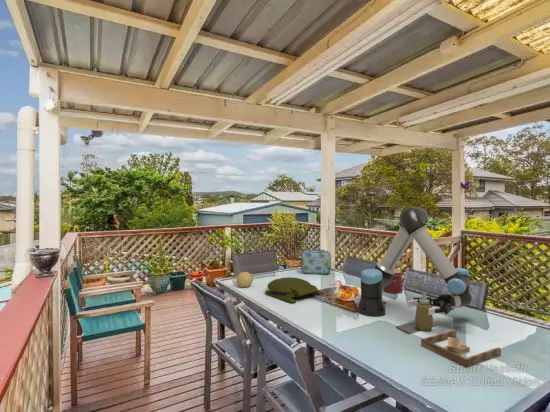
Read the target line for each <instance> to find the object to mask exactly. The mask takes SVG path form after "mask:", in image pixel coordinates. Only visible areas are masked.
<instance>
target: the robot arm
mask: <svg viewBox="0 0 550 412" xmlns="http://www.w3.org/2000/svg"><path fill="white" fill-rule="evenodd" d="M428 221H429V215H428V213H427V211H426V210H425V209H423V208H422V207H419V206H411V207H405V208H404V209H403V210H401V212H400V214H399V222H398V226H399V229H398V231H397V232H396V234H395V236H394V237H393V240H392V241H391V243H390V244H389V246H388V249H387V250H386V251H385V254H384V255H383V256H382V258H381V261H378V262H376V263H375V265H374V267H373V268H368V269H367V268H366V269H364V270H362V271H361V272H360V273H361V274H360V299H359V302H358V305H357V312H358V313H359V314H362V315H365V316H368V317H382V316H385V315H386V307H385V304H384V300H383V288H385V287H387V286H388V285H390V283H391V282H392V279H393V276H394V274H395V271H394V269H395V268H396V267H397V265H398V263H399V262H400V260H401V259H402V257H403V255H404V253H405V251H406V250H407V248H408V246H409V245H410V243H411V241H412V240H415V242H416V243H417V245H418V246H419V247H420V249H421V251H423V253H424V254H425V256H426V258H428V260H429V261H430V263H431V264H432V265H433V267H434V268H435V270H436V271H437V272H438V274H439V275H440V277H441V278H442V279H443V281H444V283H445V284H446V287H447V290H448V291H449V293H445V294H440V295H438V297H436V298H432V297H431V296H427V300H429V301H430V305H431V306H432V308H430V309H429V311H428V315H432V316H433V315H436V314H443V313H444V315H448V314H449V313H450V312H451V311H453V310H455V309H457V308H461V307H467V306H470V305H472V304H473V303H474V300H475V297H474V294H473V293H472V292H471V290H470V277H471V274H470V270H469V269H467V268H462V267H456V268H455V266H454V265H453V264H452V262H451V261H450V260H449V258H448V257H447V256H446V254H445V253H444V251H443V250H442V249H441V247H440V246H439V244H438V243H437V242H436V241H435V239H434V238H433V236H432V235H431V234H430V233H429V231H428V230H427V225H426V224H427V223H428ZM419 299H422V296H421V297H413V299H412V300H407V302H406V303H407V305H406V307H408V308H410V307H417V304H418V303H419Z"/></svg>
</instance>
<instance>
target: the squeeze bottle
mask: <svg viewBox="0 0 550 412" xmlns="http://www.w3.org/2000/svg"><path fill="white" fill-rule="evenodd" d="M421 297H422V299H419V303H418V304H417V306H416V309H415V316H414V322H415V323H416V326H417V329H418V330H421V331H420V332H430V331H431V330H432V328H433V327H432V325H434V319H433V314H432V315H428V311H429V309H430V308H433V306H431V305H430V301H429V300H427V297H428V296H427V293H426V292H422V296H421Z"/></svg>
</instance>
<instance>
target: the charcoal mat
mask: <svg viewBox="0 0 550 412" xmlns="http://www.w3.org/2000/svg"><path fill="white" fill-rule="evenodd" d="M435 327H437V326H436V325H434V324H433V325H432V328H435ZM395 329H396V330H397V329H398V330H399V331H402V332H403V333H405V334H408V335H412V334H416V333H419V332H422V331H421V330H418V329H417V326H416V323H415V321H412V322H408V323H405V324H400V325H395Z"/></svg>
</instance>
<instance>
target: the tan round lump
mask: <svg viewBox="0 0 550 412" xmlns="http://www.w3.org/2000/svg"><path fill="white" fill-rule="evenodd" d="M253 281H254V274H253V273H249V272H248V271H242V272H239V274H238V275H237V277H236V284H237V286H238V287H239V288H248V287H250V286H252V283H253Z"/></svg>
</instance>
